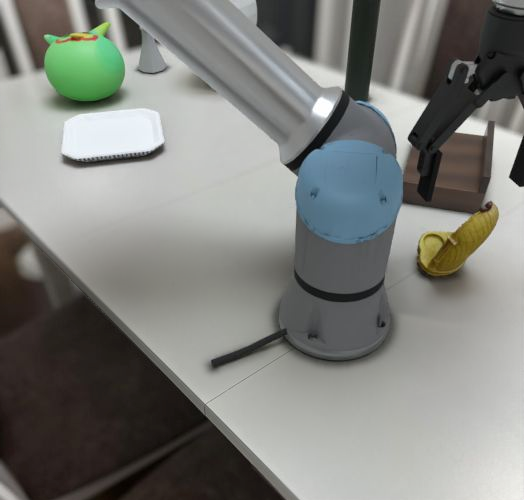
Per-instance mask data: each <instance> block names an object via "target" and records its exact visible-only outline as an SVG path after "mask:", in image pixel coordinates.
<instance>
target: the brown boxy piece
mask: <svg viewBox="0 0 524 500" xmlns="http://www.w3.org/2000/svg"><path fill="white" fill-rule="evenodd" d="M495 126H496V121H495V120H487V124H486V127H485V131H484V134H483V135H480V134H479V135H478V134H473V133H464V132H457V131H455V132H454V133H453V134H452V135H451V136H450V137H449V139H448V140H447V141H446V142H445V143H444V144H443V145H442V146H441V147H440V148H439V150H440V151H441V152H442V153H443V154H442V158H441V162H440V166H439V171H438V175H437V179H436V183H435V187H434V191H433V195H432V199H431V201H428V202H425V200H424V199H423V198H422V197H421V196H420V194H419V193H418V192H417V188H418V184H419V179H420V174H419V173H418V171H417V164H418V159H419V154H420V151H419V150H417V149H416V148H415V147H414V146H413V145H412V144H411V147H410V151H409V155H408V158H407V162H406V165H405V169H404V172H403V174H402V175H403V199H402V203H405V204H411V205H418V206H424V207H431V208H438V209H443V210H449V211H456V212H463V213H467V214H468V213H469V214H475V213H477V211H478V210H479V209H480V208H481V207H483V202H484V200H485V198H486V194H487V191H488V188H489V185H490V182H491V179H492V169H493V155H494V141H495V140H494V139H495Z"/></svg>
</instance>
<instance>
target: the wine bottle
mask: <svg viewBox="0 0 524 500" xmlns="http://www.w3.org/2000/svg"><path fill="white" fill-rule="evenodd" d="M381 2H382V0H352V9H351V17H350V18H351V19H350V28H349V38H348V39H349V40H348V49H347V59H346V69H345V80H344V89H343V90H344V91H345V92H346V93H347V94H348V95H349V96H350V97H351V98H352V99H353V100H354V101H363V102H366V103H367V101H368V100H369V96H370V95H369V94H370V87H371V78H372V71H373V63H374V57H375V49H376V41H377V40H376V39H377V32H378V27H379V26H378V25H379V19H380V11H381V4H382V3H381Z"/></svg>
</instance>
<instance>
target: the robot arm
mask: <svg viewBox="0 0 524 500" xmlns="http://www.w3.org/2000/svg"><path fill="white" fill-rule="evenodd" d="M88 1H89V2H90V3H91V4H92V5H93V6H95V7H96V8H97V9H99V10H106V9H119V10H120V11H121V12H123V13H124V14H125V15H126V16H128V18H130V19H131V20H132V21H133V22H134V23H136V24H137V25H138V26H139V27H140V26H141V27H142V28H143V29H144V30H145V31H146V32H148V33H149V34H150V35H151V36H152V37H153V38H154V40H155V41H157V42H158V43H159V44H161V45H162V46H163V47H164V48H165V49H166V50H167V51H168V52H170V53H171V54H172V55H173V56H174V57H175V58H177V59H178V60H179V61H180V62H181V63H182V64H184V65H185V66H186V67H187V68H188V69H189V70H191V71H192V72H193V74H195V75H196V76H198V77H199V78H200V79H201V80H202V81H203V82H204V83H206V84H207V85H208V86H209V87H210V88H212V89H213V90H214V91H215V92H216V93H218V95H220V97H222V98H223V99H224V100H225V101H227V102H228V103H229V104H230V105H232V106H233V107H234V108H235V109H236V110H238V112H240V113H241V114H242V115H243V116H244V117H245V118H247V119H248V120H249V121H250V122H251V123H253V124H254V125H255V126H256V127H257V128H259V130H260V131H262V132H263V133H265V134H266V135H267V136H268V137H269V138H270V139H272V141H274V142H275V143H276V144H277V147H278V153H279V162H280V163H281V164H282V165H283V166H285V168H287V169H288V170H289V171H290V172H291V173H292V174H293V175H295V176H296V178H297V179H296V182H295V188H294V201H295V207H296V209H295V234H294V255H293V256H294V257H293V260H294V261H293V274H292V276H291V278H290V280H289V282H288V284H287V287H286V289H285V291H284V294H283V296H282V297H281V300H280V303H279V308H278V324H279V328H280V330H277V331H276V332H273V333H271V334H269V335H267V336H265V337H263V338H261V339H259V340H257V341H254V342H253V343H251V344H249V345H247V346H244V347H242V348H240V349H237V350H234V351H232V352H229V353H226V354H223V355H221V356H218V357H214V358H212V359H210V363H211V365H212V367H216V366H219V365H221V364H224V363H227V362H230V361H233V360H236V359H238V358H241V357H243V356H245V355H248V354H250V353H252V352H255V351H256V350H258V349H260V348H262V347H264V346H266V345H268V344H270V343H273V342H274V341H276V340H278V339H281V338H283V337H284V338H285V339H286V340H287V341H288V343H290V345H292V346H293V347H294V348H296V349H297V350H299V351H300V352H302V353H305V354H306V355H309V356H312V357H314V358H318V359H322V360H329V361H347V360H348V361H349V360H355V359H358V358H361V357H364V356H367V355H368V354H370V353H372V352H374V351H376V349H378V348H379V347H380V346H381V345H382V344H383V342H384V341H385V340H386V338H387V335H388V333H389V329H390V324H391V320H392V319H391V309H390V304H389V298H388V293H387V289H386V284H385V280H386V273H387V269H388V265H389V261H390V260H389V259H390V255H391V249H392V245H393V239H394V234H395V229H396V223H397V218H398V215H399V214H400V213H399V212H400V209H401V207H402V205H403V202H402V199H403V175H404V174H403V171H402V168H401V165H400V163H399V162H398V160H397V158H398V156H397V153H398V147H397V141H396V136H395V133H394V132H393V128H392V126H391V124H390V121H389V120H388V118H387V117H386V115H385V114H384V113H383V112H382V111H381V110H380V109H378V108H377V107H376V106H374V105H373V104H371V103H368V102H367V101H366V102H363V101H354V100H353V99H352V98H351V97H350V96H349V95H348V94H347V93H346V92H345V91H344V89H343V88H342V87H340V86H329V87H323V86H321V85H320V84H318V83H317V81H315V80H314V79H313V78H312V77H311V76H310V75H309V74H308V73H307V72H306V71H305V70H303V69H302V67H300V66H299V65H298V64H297V63H296V62H295V61H294V60H293V59H292V58H291V57H290V56H289V55H288V54H287V53H286V52H284V51H283V49H281V47H279V46H278V45H277V43H275V42H274V41H273V40H272V39H271V38H270V37H269V36H267V34H266V33H264V32H263V31H262V30H261V29H260V28H259V27H258V26H257V25H255V24H254V23H253V22H252V21H251V20H249V19H248V18H247V17H246V16H245V15H244V14H243V13H242V12H241V11H240V10H239V9H238V8H237V7H236V6H235V5H234V4H233V3H231V2H230V1H229V0H88ZM491 1H492V3H490V4H489V5H488V6H487V8H486V9H485V14H484V19H483V22H482V25H481V30H480V33H479V38H478V46H479V47H478V51H477V54H476V56H475V58H474V59H473V60H472V61H465V60H464V61H463V60H460V59H459V58H457V57H452V58H450V60H449V61H448V63H447V66H446V69H445V73H444V76H443V79H442V81H441V82H440V84H439V86H438V87H437V89H436V90H435V92H434V93H433V95H432V97H431V98H430V100H429V101H428V103H427V105H426V106H425V108H424V109H423V111H422V113H421V114H420V116H419V118H417V121H416V122H415V124H414V126H413V127H412V129H411V130H410V132H409V133H408V136H407V141H408V143H410V145H411V146H412V145H413V146H414V147H415V148H416V149H417V150H419V151H420V154H419V159H418V164H417V171H418V173H419V174H420V179H419V184H418V188H417V192H418V193H419V194H420V196H421V197H422V198H423V199H424V200H425V202H428V201H431V199H432V195H433V191H434V187H435V183H436V179H437V175H438V171H439V166H440V162H441V158H442V154H443V153H442V152H441V151H440V150H439V148H440V147H441V146H442V145H443V144H444V143H445V142H446V141H447V140H448V139H449V137H450V136H451V135H452V134H453V133H454V132H457V130H459V128H460V127H461V126H462V125H463V124H464V123H465V122H466V121H467V120H468V119H469V117H470V116H471V115H472V114H473V113H474V112H475V111H476V110H478V109H481V108H482V107H484V105H486V104H487V102H488V101H489V102H492V103H494V102H498V101H501V100H504V99H506V100H515V99H516V97H517V98H518V100H519V102H520V105H521V106H522V108H523V110H524V0H491ZM470 77H472V78H471V79H470ZM465 84H466V85H465ZM320 86H321V87H320ZM476 91H477V92H478V94H476V93H475V92H476ZM508 178H509V179H510V180H511V181H512V182H513V183H514V184H515V185H516V186H517V187H519V188H524V134H523V135H522V138H521V141H520V144H519V147H518V150H517V152H516V155H515V158H514V161H513V164H512V167H511V170H510V172H509V174H508Z"/></svg>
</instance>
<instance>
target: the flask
mask: <svg viewBox="0 0 524 500" xmlns="http://www.w3.org/2000/svg"><path fill="white" fill-rule="evenodd" d="M139 30H140V31H141V33H140V34H141V46H140V47H141V48H140V54H139V61H138V66H137V70H139V71H141V72H142V73H151V74H154V73H158V72H161V71H164V70H165V69H166V68H167V67H168V66H167V64H166V62H165V59H164V58H163V56H162V53H161V52H160V50H159V47H158V45H157V43H156V39H155V38H153V37H152V36H151V35H150V34H149V33H148V32H146V31H145V30H144V29H143V28H142V27H141V26H139Z"/></svg>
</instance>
